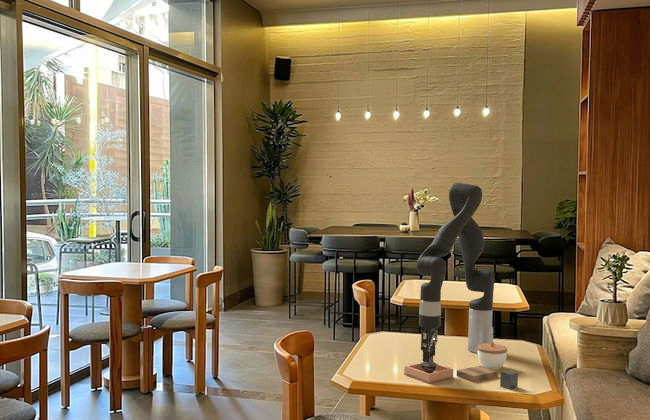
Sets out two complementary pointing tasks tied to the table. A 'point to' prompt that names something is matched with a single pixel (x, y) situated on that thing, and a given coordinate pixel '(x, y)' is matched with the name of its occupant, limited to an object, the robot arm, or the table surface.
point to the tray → (438, 375)
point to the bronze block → (477, 373)
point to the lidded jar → (492, 355)
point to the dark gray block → (509, 379)
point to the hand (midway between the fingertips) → (428, 358)
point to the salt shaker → (430, 365)
